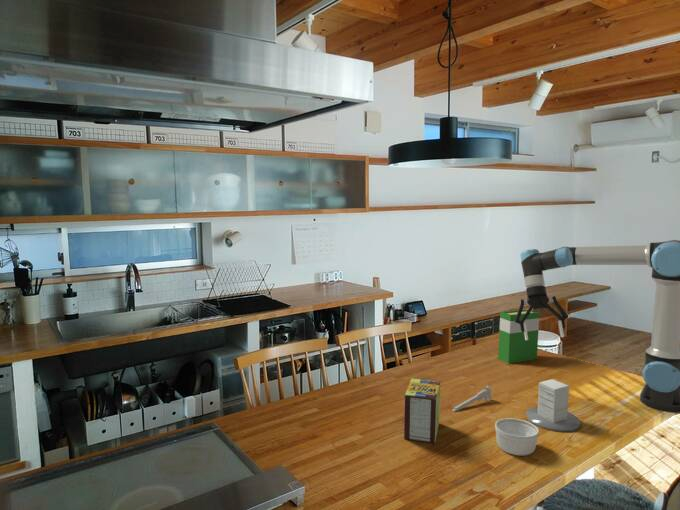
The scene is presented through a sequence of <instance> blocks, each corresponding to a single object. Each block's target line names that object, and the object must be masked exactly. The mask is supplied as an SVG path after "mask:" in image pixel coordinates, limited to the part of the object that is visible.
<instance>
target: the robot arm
mask: <svg viewBox="0 0 680 510" xmlns="http://www.w3.org/2000/svg"><path fill="white" fill-rule="evenodd" d="M520 262H521V269H522V272H523V278H524V279H523V280H524V286H525V288H526V289H525V291H526V296H527V299H520V301H519V308H518V309H517V310H518V313H517V316H516V319H515V323H518V324H520V327H521V332H524V335H525V340H528V335H527V329H526V323H525V324H524V321H525V320H526V318H527V317H528V315H529V314H530V312H533V310H534V311H537V310H544V309H545V310H546V311H548V312H549V313H550V314H552V315H553V316H555V318H556V319H558V320H557V324H558V330H559V335H560V338H564V337H565V332H564V329H566V324H565V320H566V319H568V318H569V315H568V314H567V312H566V311H565V310H564V308H563V307H562V306H561V305H560V303H559V302H558V299H557V296H555V295H554V296H552V297H549V296H548V294H547V290H546V289H547V288H546V283H545V278H544V271H548V270H549V271H550V270H554V269H561V268H565V267H569V266H580V265H581V266H583V265H584V266H586V265H587V266H594V265H595V266H611V265H612V266H614V265H615V266H623V265H624V266H628V265H629V266H630V265H631V266H635V265H636V266H648V267H649V268H651V269H652V270H651V279H652V280H653V281H654V282H655V293H654V305H653V307H654V308H653V315H652V318H653V319H652V329H651V330H652V331H651V342H650V346H649V347H648V348H646V349H645V354H644V355H645V356H644V367H643V369H642V370H641V374H642V375H641V376H642V380H643V382H644V383H645V384H644V385H643V387H642V390H641V392H640V394H639V401H640V402H641V403H642V404H643V405H646V406H648V407H650V408H653V409H656V410H660V411H665V412H670V413H678V412H680V240H678V239H672V240H667V241H660V242H648V244H647V245H645V244H644V245H607V246H606V245H605V246H604V245H603V246H577V247H575V246H573V247H571V246H561V247H558V248H555V249H553V250H547V251H544V252H540V250H539V249H537V248H535V249H534V248H532V249H526V250H523V251H522V252H521V253H520ZM549 301H550V302H551V303H552V304H553V305H554V307H555V308H556V309H557V311H558V312H557V311H556V310H555V309H554V308H553V307H552V306H551V305H550V304H549ZM526 304H527V305H528V306H529V307H528V310H527V312H526V313H525V315H524V316H523V318H522V319H521V320H519V319H520V316H521V313H522V310H524V306H525V305H526Z"/></svg>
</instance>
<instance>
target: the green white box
mask: <svg viewBox="0 0 680 510" xmlns="http://www.w3.org/2000/svg"><path fill="white" fill-rule="evenodd" d="M528 309H529V308H528ZM528 309H527V308H526V309H523V310H522V313H521V316H520V319H519V320H521V319H522V318H523V316H524V315H525V313H526V312H527V310H528ZM518 310H519V309H516V310H507V311H505V310H504V311H500V313H499V314H500V315H499V335H498V336H499V337H498V351H497V353H498V354H497V355H498V357H497V359H498V360H499V359H500V361H502V362H504V363H506V364H508V363H509V364H515V362H516V363H522V362H521V361H523V362H527V360H530V361H534V360H533V359H537V360H538V347H539V346H538V345H539V344H538V343H539V331H540V330H539V328H540V327H539V325H540V312H539V311H537V312H536V311H531V312H530V314H529V315H528V317H527V318H526V320H525V321H524V324H525V323H526V329H527V335H528V340H525V335H524V332H521V327H520V324H518V323H515V319H516V316H517V313H518Z"/></svg>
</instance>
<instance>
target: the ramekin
mask: <svg viewBox="0 0 680 510" xmlns="http://www.w3.org/2000/svg"><path fill="white" fill-rule="evenodd" d="M494 425H495V426H494V429H495V438H496V444H497V446H498V447H499V448H500V450H502V451H503V452H505V453H507V454H510V455H514V456H518V457H520V456H521V457H522V456H530V455H531V454H532V453H534V452H535V450H536V447H537V443H538V437H539V435H540V431H539V428H538V426H536V425H534V424H532V423H531V422H529V421H527V420H524V419H519V418H512V417H511V418H510V417H507V418H500V419H498V420H496V421H495V424H494Z"/></svg>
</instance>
